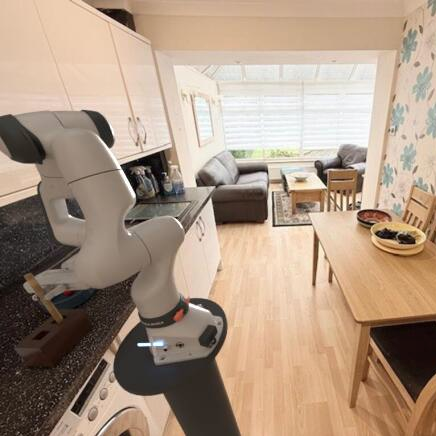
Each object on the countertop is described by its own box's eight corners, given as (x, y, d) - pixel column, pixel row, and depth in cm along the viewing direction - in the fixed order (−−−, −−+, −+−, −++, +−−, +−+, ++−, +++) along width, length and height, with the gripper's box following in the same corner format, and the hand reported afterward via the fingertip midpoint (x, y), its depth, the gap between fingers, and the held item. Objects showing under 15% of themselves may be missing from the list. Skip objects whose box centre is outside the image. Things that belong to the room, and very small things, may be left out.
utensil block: (93, 326, 80) (82, 309, 76) (54, 366, 68) (39, 348, 64) (71, 326, 80) (59, 309, 77) (29, 366, 68) (13, 347, 65)
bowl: (104, 286, 99) (99, 276, 96) (72, 315, 85) (65, 305, 83) (71, 286, 100) (65, 277, 98) (34, 315, 86) (26, 305, 84)
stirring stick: (68, 323, 75) (33, 272, 66) (63, 327, 73) (27, 276, 65) (63, 323, 75) (28, 272, 66) (59, 327, 73) (22, 276, 65)
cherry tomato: (77, 291, 95) (73, 285, 94) (70, 296, 93) (66, 290, 91) (70, 291, 96) (67, 285, 94) (63, 296, 93) (59, 291, 92)
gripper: (44, 263, 80) (-2, 292, 67) (103, 259, 79) (68, 287, 66) (54, 278, 82) (12, 309, 70) (111, 274, 82) (79, 304, 69)
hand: (40, 298), depth 68 cm, fingers closed on stirring stick, 2 cm apart
